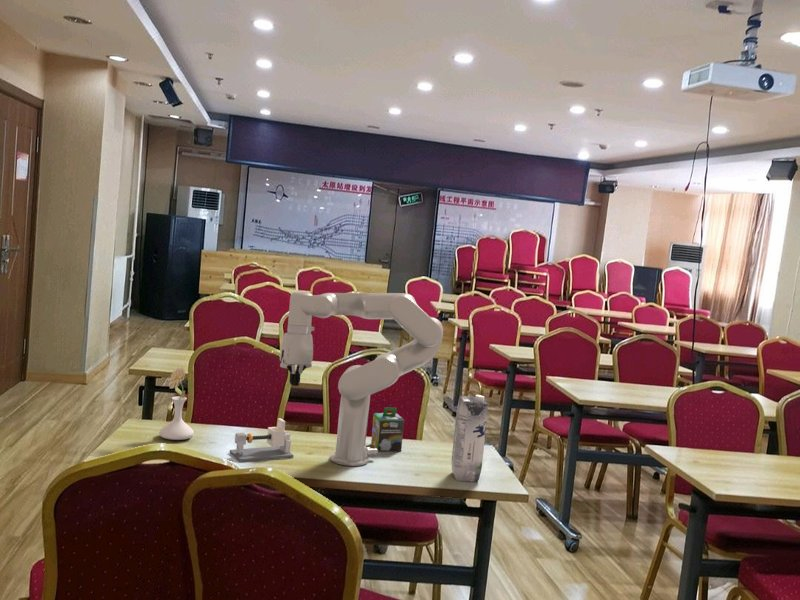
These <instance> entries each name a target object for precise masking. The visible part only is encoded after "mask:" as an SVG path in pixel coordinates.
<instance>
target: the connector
mask: <svg viewBox="0 0 800 600" xmlns="http://www.w3.org/2000/svg"><path fill="white" fill-rule="evenodd" d="M246 437H247V434H246V433H244V432H235V435H234V443H235V444H236V448H235V449H236V454H238V455H243V449H244V446H245V445H247V440H246Z"/></svg>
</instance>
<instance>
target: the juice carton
mask: <svg viewBox="0 0 800 600" xmlns="http://www.w3.org/2000/svg"><path fill="white" fill-rule="evenodd" d="M488 412H489V411H488V403H487V402H486V401H485V396H483V395H481V394H476V395H475V396H472V395H470V396H469V395H459V398H458V403H457V406H456V414H455V425H454V431H453V432H454V433H453V442H452V443H453V445H452V452H451V453H452V454H451V471H452V474H453V475H454V478H455V480H456V481H458V482H459V481H461V482H474V483H475V482H476V483H477V482H479V480H480V477H481V473H482V467H483V461H484V460H483V458H484V450H485V444H486V443H485V440H486V432H487V423H488Z"/></svg>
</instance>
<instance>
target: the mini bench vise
mask: <svg viewBox="0 0 800 600" xmlns="http://www.w3.org/2000/svg"><path fill="white" fill-rule="evenodd" d="M291 444H292V441H291V434H290V433H288V431H286V430H285V440H284V446H274V447H272V446H266V447H265V446H264V447H262V446H261V447H252V448H251V447H250V448H243V455H238V454H236V448H235V449H229V454H230V455H231V456H232V457H233V458H234V459H236V460H237V461H238V462H239V463H246V462H247V463H248V462H260V461H261V462H262V461H273V459H275V460H281V459H280V458H287V459H293V458H294V454H293V453H292V452H291Z"/></svg>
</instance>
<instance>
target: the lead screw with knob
mask: <svg viewBox="0 0 800 600" xmlns="http://www.w3.org/2000/svg"><path fill="white" fill-rule="evenodd" d="M246 435H247V437H246V443H248V444H252V443H253V441H256V440H258V441H259V440H267V439H271V436H272V435H267V434H266V435H253V434H252V433H247V434H246Z"/></svg>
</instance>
